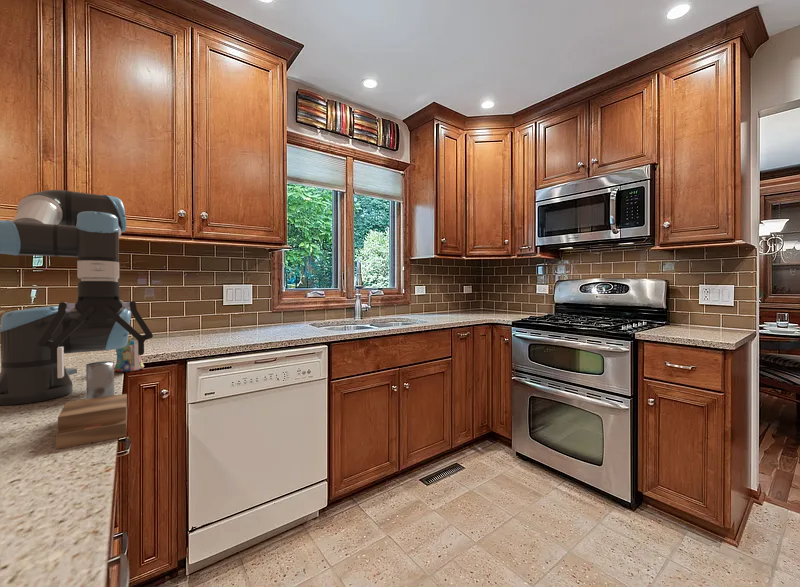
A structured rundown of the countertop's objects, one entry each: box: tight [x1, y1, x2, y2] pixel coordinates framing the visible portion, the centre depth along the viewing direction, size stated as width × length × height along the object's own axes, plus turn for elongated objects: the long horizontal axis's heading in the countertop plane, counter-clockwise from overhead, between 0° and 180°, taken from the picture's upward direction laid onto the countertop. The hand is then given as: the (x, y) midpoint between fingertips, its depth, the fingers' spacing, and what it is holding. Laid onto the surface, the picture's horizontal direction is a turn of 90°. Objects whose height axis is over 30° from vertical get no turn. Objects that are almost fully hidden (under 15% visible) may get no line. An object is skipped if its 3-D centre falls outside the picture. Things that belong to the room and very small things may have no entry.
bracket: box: [65, 367, 78, 376], centre depth 119 cm, size 4×10×2 cm, turn 178°
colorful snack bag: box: [114, 337, 145, 373], centre depth 127 cm, size 12×9×11 cm
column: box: [85, 360, 115, 399], centre depth 87 cm, size 5×5×11 cm
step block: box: [55, 393, 128, 450], centre depth 75 cm, size 14×10×5 cm
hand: (100, 373), depth 86 cm, fingers open, 13 cm apart
